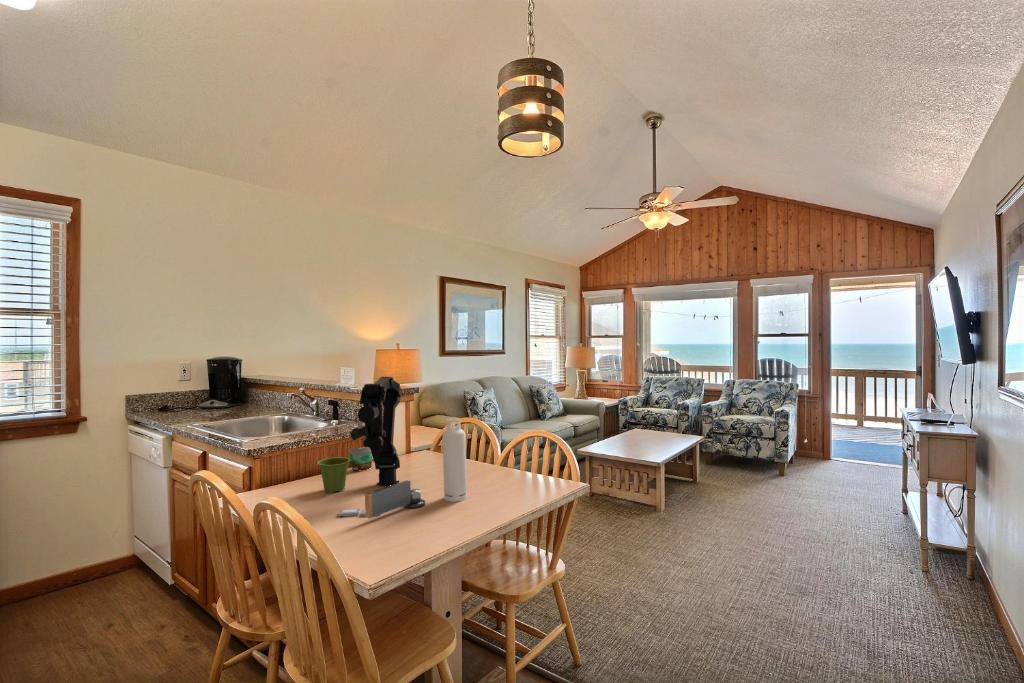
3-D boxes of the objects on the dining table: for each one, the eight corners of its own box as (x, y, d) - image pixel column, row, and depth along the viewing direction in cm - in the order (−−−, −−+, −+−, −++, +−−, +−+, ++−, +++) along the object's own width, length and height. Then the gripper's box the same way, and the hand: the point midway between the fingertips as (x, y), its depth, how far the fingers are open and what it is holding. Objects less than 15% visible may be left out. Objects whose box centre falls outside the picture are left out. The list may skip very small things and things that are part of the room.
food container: (358, 473, 213) (357, 450, 213) (348, 471, 217) (348, 448, 217) (380, 467, 224) (379, 444, 224) (371, 465, 227) (370, 443, 227)
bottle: (444, 502, 172) (442, 421, 172) (443, 495, 180) (442, 418, 180) (467, 500, 174) (465, 420, 174) (466, 493, 182) (464, 417, 182)
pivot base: (413, 500, 175) (413, 497, 175) (429, 503, 172) (429, 500, 172) (400, 506, 169) (400, 503, 169) (416, 509, 166) (416, 506, 166)
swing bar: (415, 498, 173) (414, 476, 173) (423, 500, 171) (422, 478, 171) (363, 517, 156) (362, 492, 156) (371, 519, 153) (370, 495, 153)
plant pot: (313, 495, 184) (312, 465, 184) (324, 486, 196) (324, 457, 196) (345, 494, 184) (344, 464, 184) (355, 485, 196) (354, 456, 196)
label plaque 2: (362, 512, 164) (362, 509, 164) (381, 511, 165) (381, 507, 165) (361, 516, 160) (360, 513, 160) (380, 515, 161) (380, 511, 161)
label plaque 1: (340, 513, 164) (340, 509, 164) (359, 511, 165) (359, 508, 165) (338, 517, 160) (338, 513, 160) (358, 515, 161) (357, 512, 161)
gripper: (354, 415, 188) (355, 457, 188) (347, 423, 169) (348, 469, 169) (385, 414, 190) (386, 455, 190) (381, 422, 171) (382, 467, 171)
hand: (375, 461), depth 180 cm, fingers closed
